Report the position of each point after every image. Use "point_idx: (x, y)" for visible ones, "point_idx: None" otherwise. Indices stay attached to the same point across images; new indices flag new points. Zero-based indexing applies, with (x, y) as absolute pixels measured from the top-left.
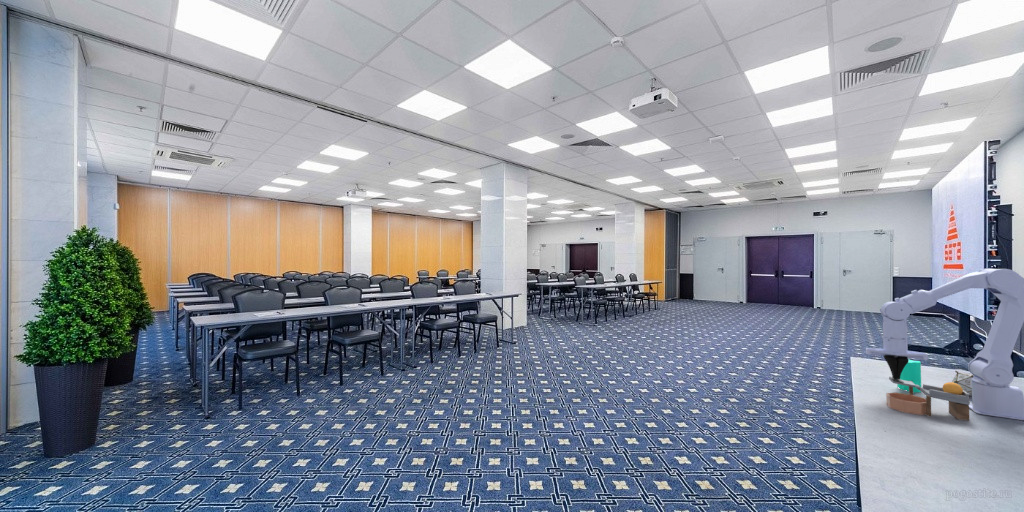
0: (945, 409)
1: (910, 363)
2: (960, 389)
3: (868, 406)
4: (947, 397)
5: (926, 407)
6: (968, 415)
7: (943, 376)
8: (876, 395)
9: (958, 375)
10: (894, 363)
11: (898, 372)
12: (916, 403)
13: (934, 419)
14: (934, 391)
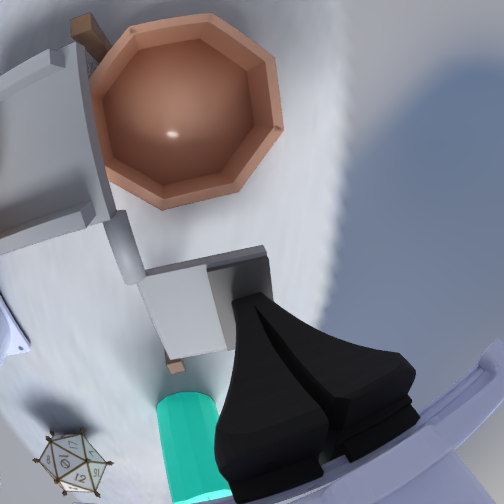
0: (53, 243)
1: (200, 490)
2: None
3: (325, 41)
4: None
5: (107, 47)
6: None
7: (152, 494)
8: (285, 257)
9: (89, 483)
10: (329, 365)
11: (257, 324)
12: (150, 24)
13: (96, 21)
14: (30, 62)
